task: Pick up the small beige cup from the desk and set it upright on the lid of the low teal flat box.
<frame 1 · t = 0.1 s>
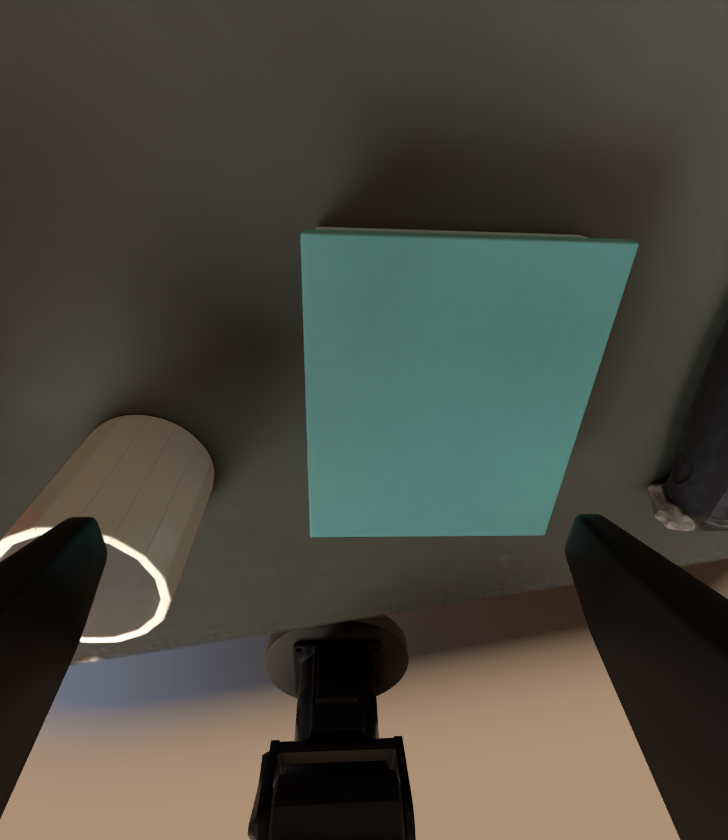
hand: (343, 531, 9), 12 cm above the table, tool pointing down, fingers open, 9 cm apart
teal flat box: (432, 376, 20), on the table
beige cup: (150, 468, 22), on the table
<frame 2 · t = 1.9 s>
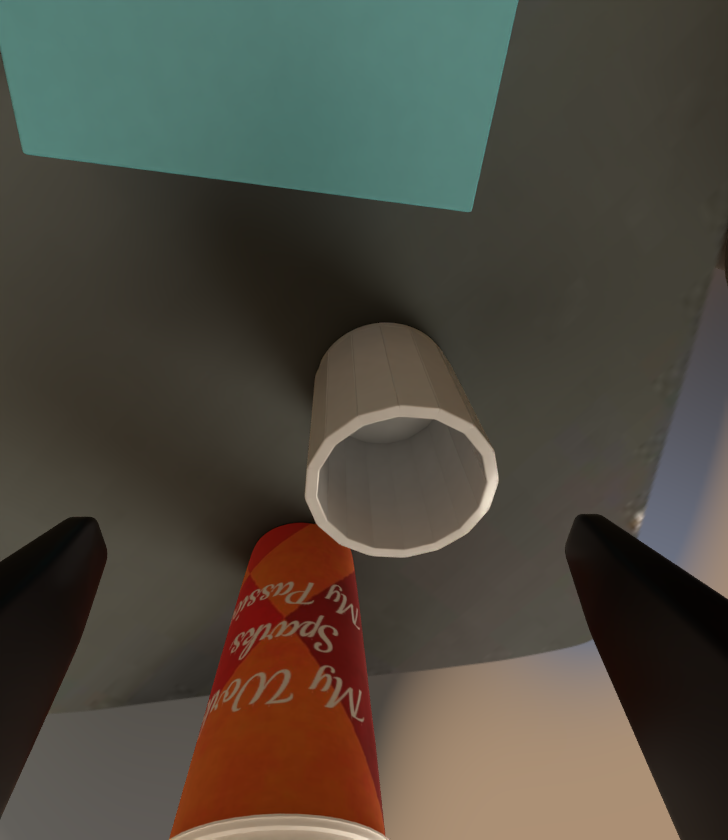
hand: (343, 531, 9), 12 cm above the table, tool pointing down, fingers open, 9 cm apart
paper cup: (301, 556, 26), on the table
beige cup: (383, 387, 20), on the table
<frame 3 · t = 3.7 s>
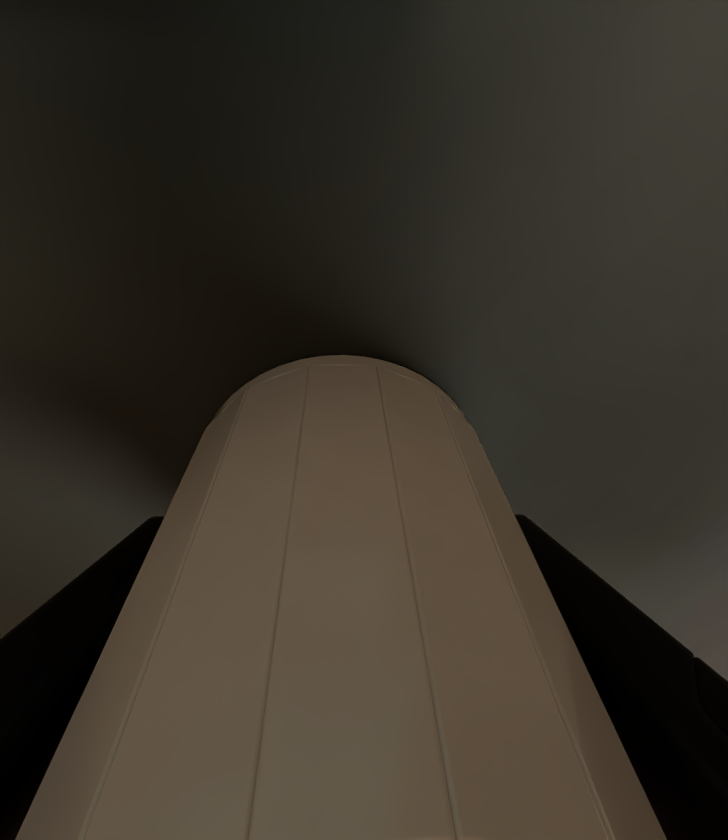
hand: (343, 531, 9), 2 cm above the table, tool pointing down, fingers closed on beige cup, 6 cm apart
beige cup: (341, 481, 10), on the table, touching gripper
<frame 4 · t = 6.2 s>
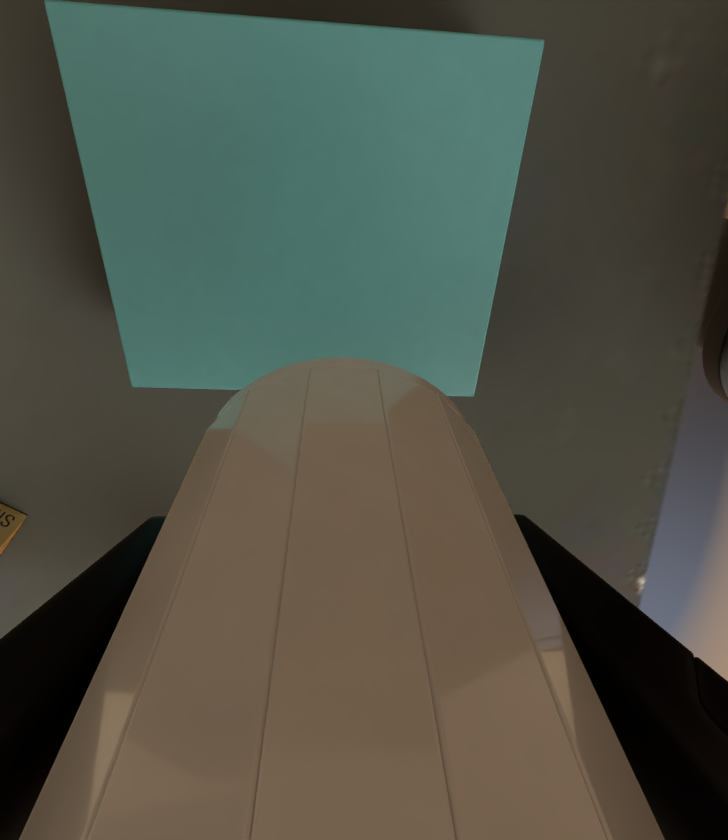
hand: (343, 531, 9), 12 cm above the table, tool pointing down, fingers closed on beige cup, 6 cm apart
teal flat box: (311, 224, 17), on the table
beige cup: (341, 483, 10), point 11 cm above the table, touching gripper
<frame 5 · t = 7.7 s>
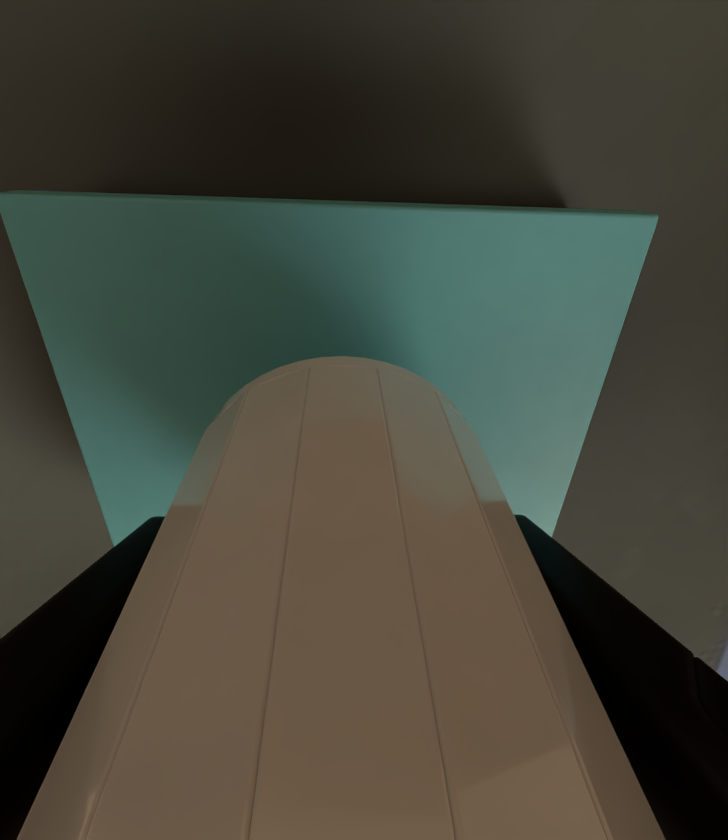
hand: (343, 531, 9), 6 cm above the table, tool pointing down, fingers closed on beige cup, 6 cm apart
teal flat box: (338, 380, 14), on the table
beige cup: (341, 482, 10), point 5 cm above the table, touching gripper
when the fingers open (5 cm above the table, at t = 8.8 s): beige cup stays where it is, resting on teal flat box.
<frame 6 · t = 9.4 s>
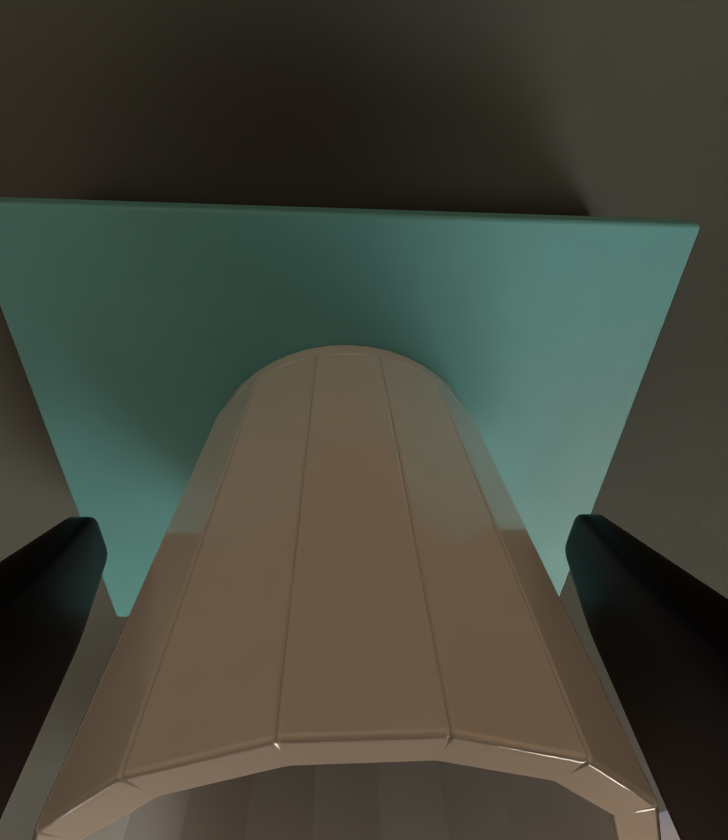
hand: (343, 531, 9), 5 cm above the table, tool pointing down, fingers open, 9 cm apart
teal flat box: (342, 396, 13), on the table
beige cup: (345, 466, 11), point 3 cm above the table, touching teal flat box
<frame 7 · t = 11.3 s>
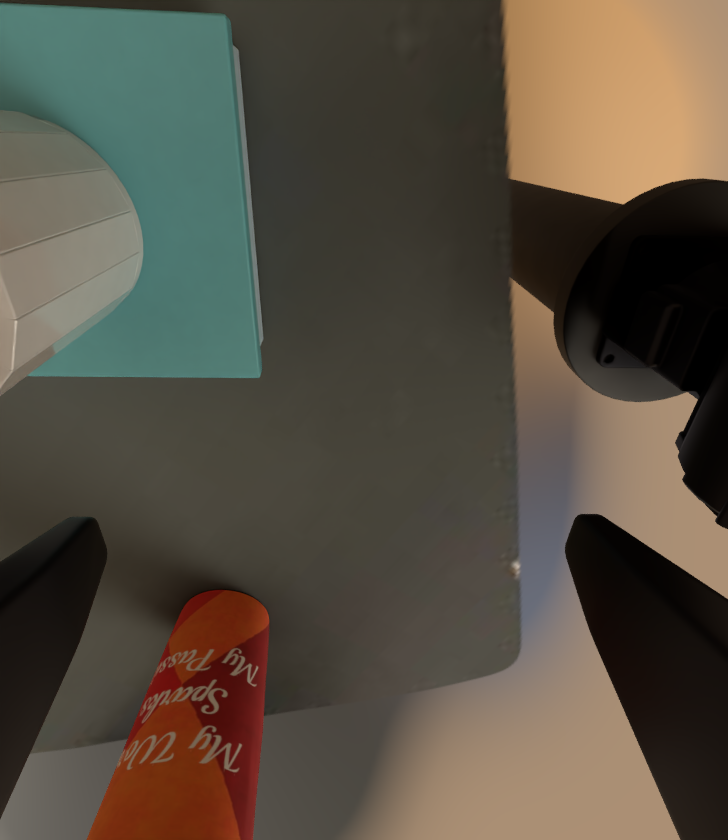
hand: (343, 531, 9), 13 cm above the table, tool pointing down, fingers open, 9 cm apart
teal flat box: (91, 210, 17), on the table
paper cup: (225, 615, 30), on the table
beige cup: (44, 226, 15), point 3 cm above the table, touching teal flat box
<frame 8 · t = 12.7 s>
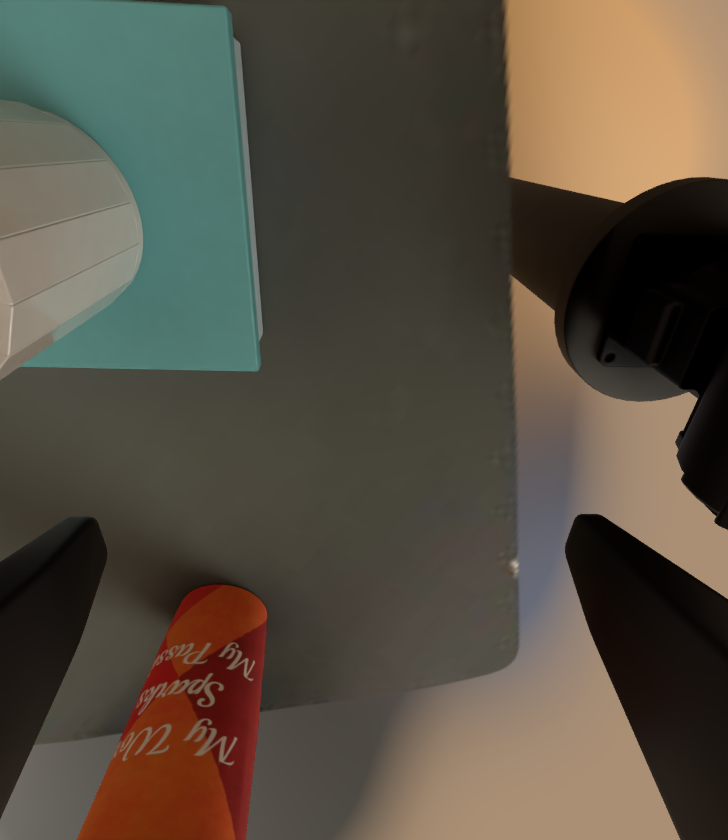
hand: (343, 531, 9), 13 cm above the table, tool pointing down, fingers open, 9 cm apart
teal flat box: (92, 203, 17), on the table
paper cup: (223, 610, 30), on the table
beige cup: (45, 217, 15), point 3 cm above the table, touching teal flat box
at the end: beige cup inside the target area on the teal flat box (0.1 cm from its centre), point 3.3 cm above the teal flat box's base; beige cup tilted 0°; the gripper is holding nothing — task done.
